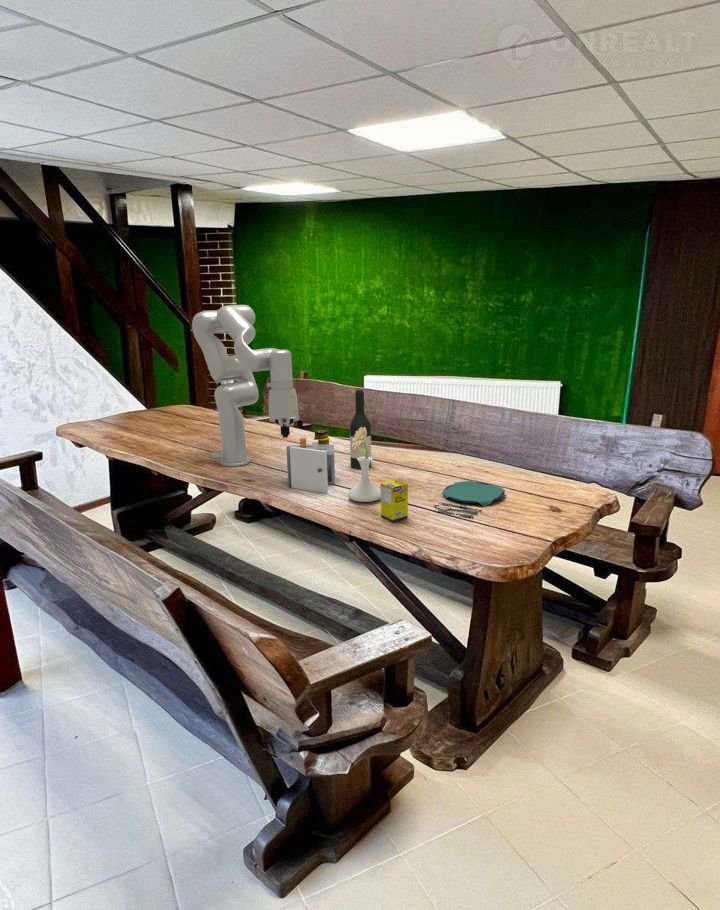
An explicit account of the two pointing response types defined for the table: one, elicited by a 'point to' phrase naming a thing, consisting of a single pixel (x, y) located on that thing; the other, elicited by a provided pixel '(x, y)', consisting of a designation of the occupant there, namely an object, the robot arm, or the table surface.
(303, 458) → the door
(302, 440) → the fader
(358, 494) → the flower in vase
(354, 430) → the wine bottle
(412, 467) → the table surface
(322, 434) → the condiment
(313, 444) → the fader
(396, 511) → the supplement box
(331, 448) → the white slider console
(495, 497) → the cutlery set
